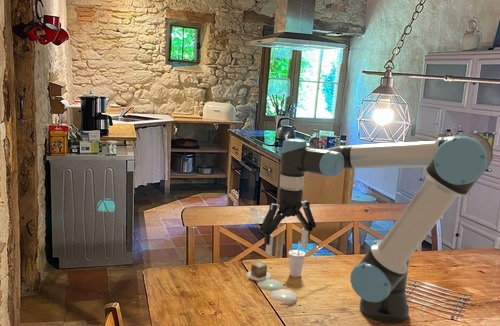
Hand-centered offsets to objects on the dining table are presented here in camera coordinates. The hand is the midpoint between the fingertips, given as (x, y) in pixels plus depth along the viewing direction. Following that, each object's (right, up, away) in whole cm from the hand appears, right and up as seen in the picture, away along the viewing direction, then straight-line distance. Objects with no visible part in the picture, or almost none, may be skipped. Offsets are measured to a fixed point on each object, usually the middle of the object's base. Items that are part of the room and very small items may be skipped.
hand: (286, 251), depth 150 cm
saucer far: (-9, -13, +18) cm, 24 cm away
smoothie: (+5, -14, +20) cm, 25 cm away
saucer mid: (-5, -15, +10) cm, 19 cm away
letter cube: (-9, -12, +18) cm, 23 cm away
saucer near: (-1, -16, +3) cm, 17 cm away
